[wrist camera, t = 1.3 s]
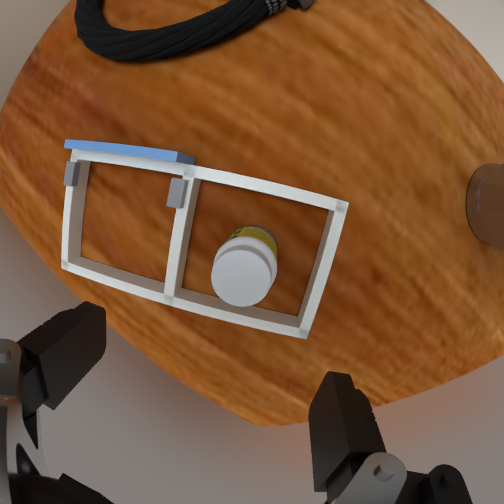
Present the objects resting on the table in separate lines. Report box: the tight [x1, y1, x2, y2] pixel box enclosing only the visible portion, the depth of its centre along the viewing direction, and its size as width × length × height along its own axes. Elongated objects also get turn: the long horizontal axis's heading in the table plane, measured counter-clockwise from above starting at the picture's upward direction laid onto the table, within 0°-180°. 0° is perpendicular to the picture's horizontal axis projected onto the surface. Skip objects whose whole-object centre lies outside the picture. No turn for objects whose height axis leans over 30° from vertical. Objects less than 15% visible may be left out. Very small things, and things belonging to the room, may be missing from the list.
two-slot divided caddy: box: [62, 140, 349, 339], centre depth 24 cm, size 27×14×5 cm, turn 77°
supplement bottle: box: [211, 225, 277, 307], centre depth 22 cm, size 5×5×8 cm
